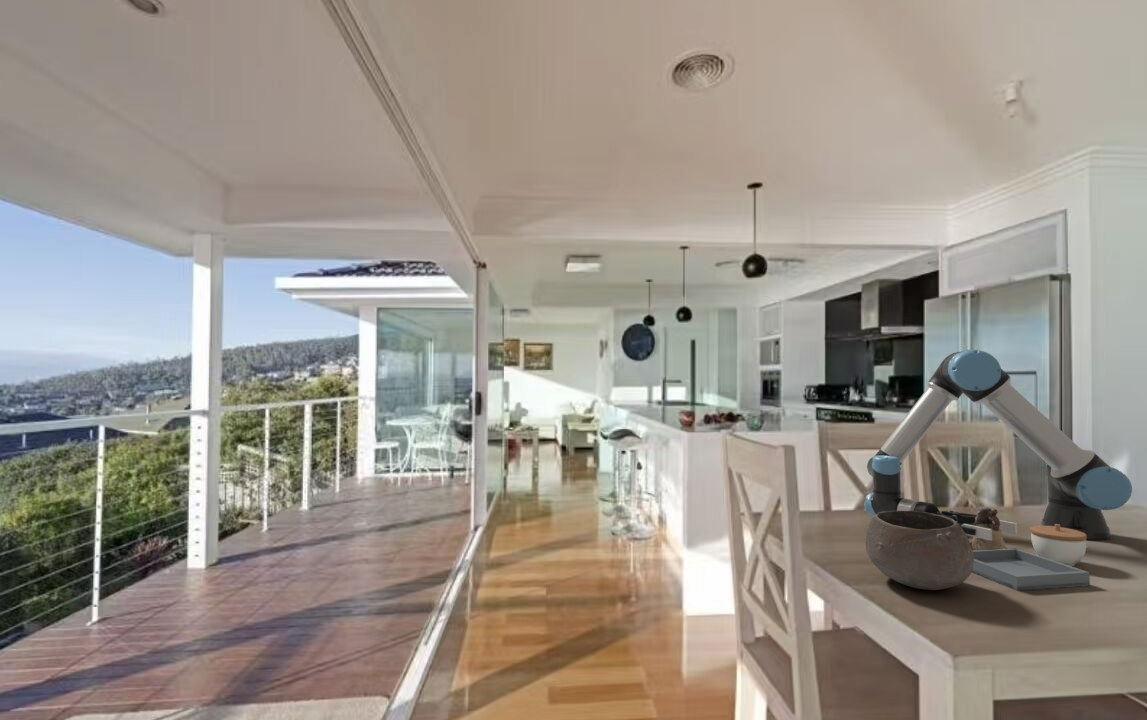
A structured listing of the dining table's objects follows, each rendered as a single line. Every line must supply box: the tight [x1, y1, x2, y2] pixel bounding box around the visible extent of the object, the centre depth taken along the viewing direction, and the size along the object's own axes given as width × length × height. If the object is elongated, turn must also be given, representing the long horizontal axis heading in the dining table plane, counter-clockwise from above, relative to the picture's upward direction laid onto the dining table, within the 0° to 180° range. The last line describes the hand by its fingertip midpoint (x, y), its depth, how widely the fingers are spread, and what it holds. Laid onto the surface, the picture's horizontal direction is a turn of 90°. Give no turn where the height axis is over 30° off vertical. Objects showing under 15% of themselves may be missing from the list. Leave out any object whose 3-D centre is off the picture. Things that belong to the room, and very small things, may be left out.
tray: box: [971, 547, 1091, 592], centre depth 132 cm, size 18×18×3 cm
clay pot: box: [864, 511, 974, 591], centre depth 126 cm, size 21×21×15 cm
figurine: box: [970, 507, 1006, 550], centre depth 147 cm, size 7×7×12 cm
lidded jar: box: [1029, 524, 1088, 567], centre depth 140 cm, size 11×11×9 cm
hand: (1004, 531), depth 144 cm, fingers open, 11 cm apart
